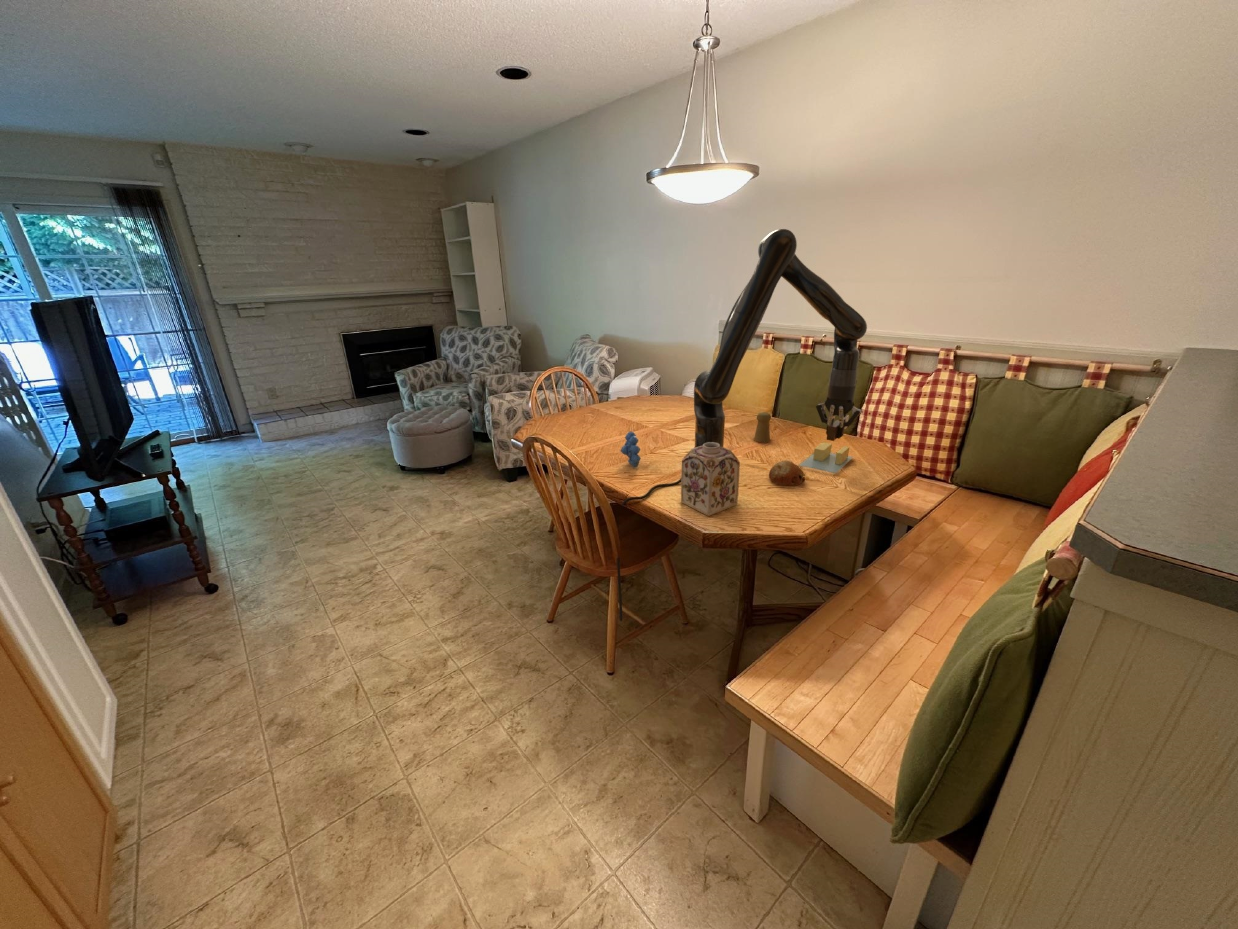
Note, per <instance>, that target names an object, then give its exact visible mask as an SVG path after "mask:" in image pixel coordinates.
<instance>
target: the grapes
mask: <svg viewBox="0 0 1238 929" xmlns="http://www.w3.org/2000/svg"><path fill="white" fill-rule="evenodd" d="M624 439H625V440H626V441H625V443H624V444H623V446H621V448H620V452H621V453H622V454H623V455H624V456H626V457H628V460H627V462H628V463H629V465H630V466H631V467H633V468H634V469H635V468H638V466H639V464H640V461H641V459H642V457H641V456H640V455H639V453H640V451H641V448H640V447H639V446H638V445H637V444H638V443H639V439H638V437H637V434H636V433H635V432H634V431H632V430H629V432H628V433H627V434H625V437H624Z"/></svg>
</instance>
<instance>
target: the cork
mask: <svg viewBox="0 0 1238 929" xmlns="http://www.w3.org/2000/svg"><path fill="white" fill-rule="evenodd" d="M771 419H772V415H771V413H769V412H766V411H761V412H759V413H757V415H756V420H757V424H756V428H755V433H754V438H753V441H754V442H757V443H763V444H764V443H765V444H766V443H769V442H770V441H771V433H770V432H771V431H770V421H771Z"/></svg>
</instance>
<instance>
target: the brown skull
mask: <svg viewBox="0 0 1238 929" xmlns="http://www.w3.org/2000/svg"><path fill="white" fill-rule="evenodd" d="M805 476H806V474H805V473H804V470H802V469H801V467H800V466H799V465H797V464H795V463H794V462H793V461H790V460H782V461H781V460H780V461H778V462H776V463H775V464H774V465H772V467H771V468H770V470H769V472H768V479H769V480H770V482H772V483H773V484H775V485H778V486H785V487H796V486H798V485H800V484H802V482H805V478H804V477H805Z"/></svg>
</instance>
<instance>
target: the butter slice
mask: <svg viewBox="0 0 1238 929" xmlns="http://www.w3.org/2000/svg"><path fill="white" fill-rule="evenodd" d="M849 452H850V446H845V445H843V446H842V447H841V448H840V449H839V450H837V452H836V453H835V454H836V459H835V464H838V465H841V464H842V463H843V462H844V461H845V460H846V459H847V458H848V456H849V454H850V453H849Z"/></svg>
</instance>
